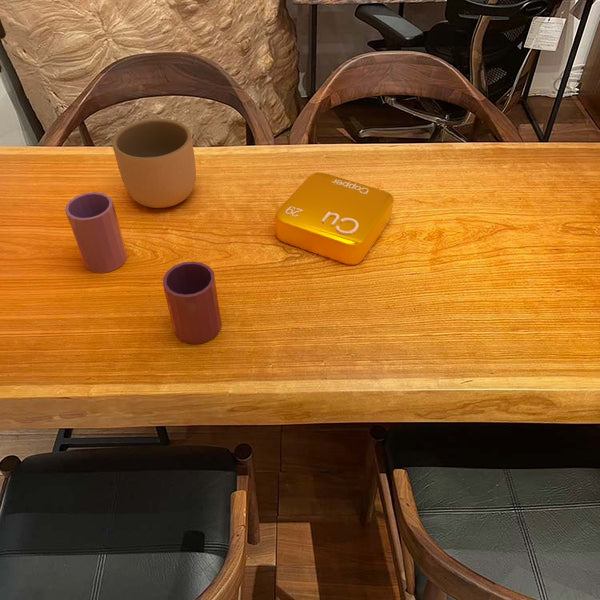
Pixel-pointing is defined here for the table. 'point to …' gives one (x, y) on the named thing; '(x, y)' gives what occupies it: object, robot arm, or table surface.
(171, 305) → the plum cup
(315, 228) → the element tile
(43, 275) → the table surface
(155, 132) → the planter
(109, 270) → the lilac cup
